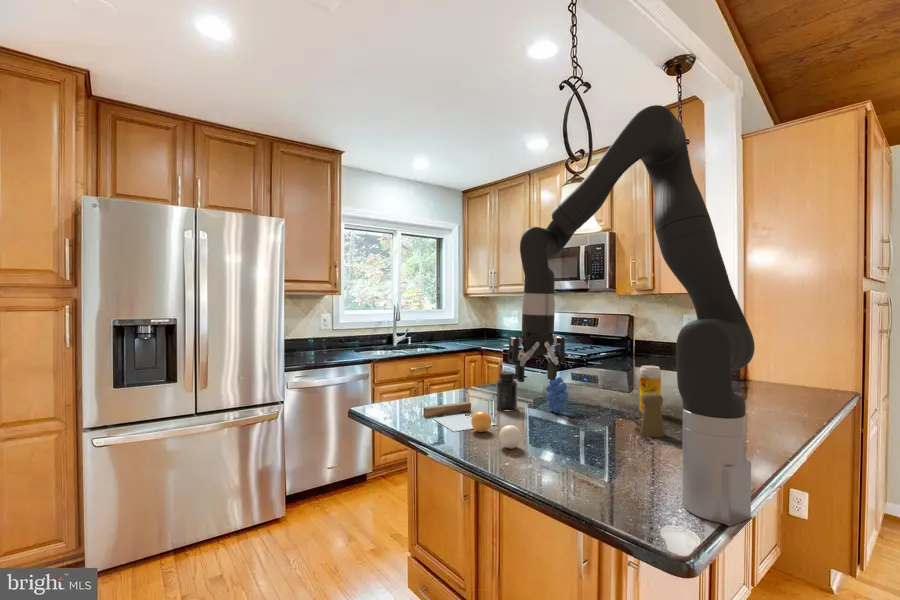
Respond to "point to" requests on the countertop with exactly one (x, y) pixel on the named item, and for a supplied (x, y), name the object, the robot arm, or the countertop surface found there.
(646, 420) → the olive tall flared piece
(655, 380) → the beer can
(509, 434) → the cue ball
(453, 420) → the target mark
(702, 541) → the countertop surface
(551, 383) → the grapes
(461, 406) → the wooden stick
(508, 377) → the supplement bottle
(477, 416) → the orange ball
